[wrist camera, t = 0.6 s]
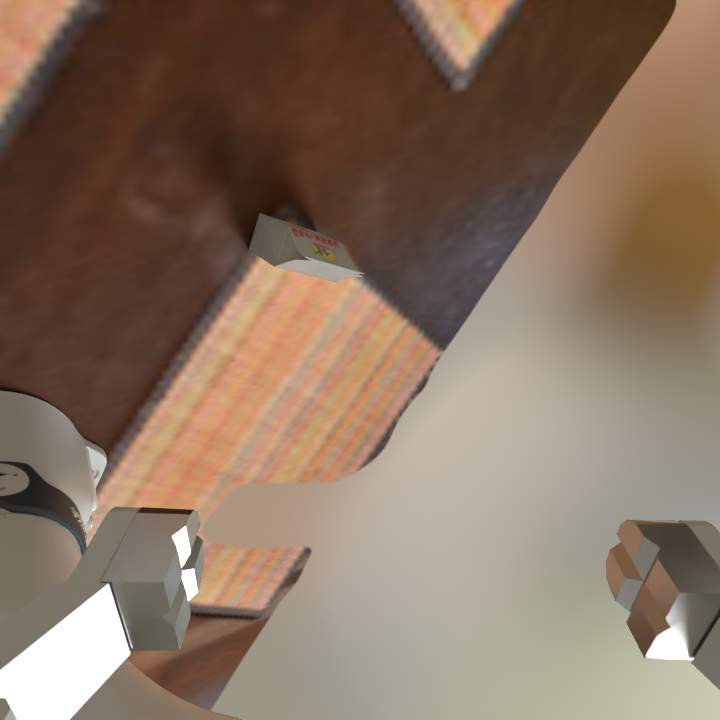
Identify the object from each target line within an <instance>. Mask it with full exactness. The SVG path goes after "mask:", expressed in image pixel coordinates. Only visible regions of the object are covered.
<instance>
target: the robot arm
mask: <svg viewBox="0 0 720 720" xmlns="http://www.w3.org/2000/svg"><path fill="white" fill-rule="evenodd" d="M106 463H107V459H106V453H105V452H104V450H103V449H101V448H100V447H98V446H97V445H95V444H93V443H91V442H89V441H88V440H86V439H84V438H83V437H82V436H81V435H80V434H79V433H78V431H77V430H76V428H75V427H74V425H73V424H72V422H71V421H70V420H69V419H68V418H67V417H66V416H65V415H64V414H63V413H62V412H61V411H59V410H58V409H57V408H55V407H54V406H52V405H50V404H48V403H47V402H45V401H42V400H40V399H37V398H35V397H32V396H28V395H25V394H20V393H15V392H7V391H0V720H241V719H239V718H236V717H232V716H228V715H224V714H220V713H216V712H212V711H210V710H207V709H204V708H201V707H198V706H195V705H193V704H191V703H189V702H187V701H185V700H183V699H181V698H179V697H177V696H175V695H174V694H172V693H170V692H169V691H167V690H165V689H164V688H162V687H160V686H159V685H158V684H156V683H155V682H154V681H152V680H151V679H150V678H148V677H147V676H146V675H145V674H143V673H142V672H141V671H140V670H139V669H137V668H136V667H135V666H134V665H133V664H132V663H131V662H130V661H129V660H128V659H127V657H128V656H129V655H130V653H131V652H130V651H142V650H180V647H181V644H182V641H183V638H184V634H185V631H186V628H187V625H188V622H189V619H190V616H191V613H190V608H189V602H188V601H189V600H190V599H191V598H192V597H193V596H194V595H195V594H196V593H197V592H198V590H199V586H200V583H201V579H202V574H203V568H204V543H203V540H202V539H201V538H200V537H198V536H197V532H198V529H199V527H200V520H199V515H198V511H195V510H185V509H165V508H144V507H142V508H135V507H114V508H113V509H112V510H110V511H109V512H108V513H107V515H106V516H105V518H104V520H103V522H102V523H101V525H100V527H99V528H98V530H97V532H96V534H95V535H94V537H93V539H92V540H91V542H90V544H89V546H88V547H86V544H87V536H86V531H89V530H90V529H91V527H92V523H93V517H92V515H91V513H92V511H94V510H96V508H97V497H96V490H95V488H96V486H97V484H98V482H99V479H100V477H101V475H102V473H103V471H104V469H105V466H106ZM617 535H618V537H619V538H620V540H621V542H620V543H619V544H617V545H616V546H615V547H613V548H612V549H610V551H609V554H608V557H607V560H606V577H607V580H608V584H609V587H610V590H611V592H612V594H613V596H614V598H615V600H616V601H617V602H618V603H619V604H620V605H622V606H623V607H624V608H625V609H626V610H628V611H629V615H628V619H627V625H628V627H629V629H630V631H631V633H632V634H633V636H634V638H635V640H636V642H637V644H638V646H639V648H640V650H641V652H642V654H643V656H644V658H656V659H676V660H678V659H679V660H692V662H691V663H692V664H693V665H694V666H695V667H696V668H697V669H698V670H699V671H700V672H701V673H702V674H704V675H705V676H706V677H707V678H708V679H709V680H710V681H711V682H712V683H713V684H714V685H715V686H716V687H717V688H718V689H719V690H720V533H719V531H718V530H717V529H716V528H715V527H714V526H713V525H712V524H710V523H709V522H707V521H675V520H626V521H624V522H623V523H622V524H621V525H620V527H619V529H618V532H617Z"/></svg>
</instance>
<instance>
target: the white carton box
mask: <svg viewBox="0 0 720 720" xmlns="http://www.w3.org/2000/svg"><path fill="white" fill-rule="evenodd" d="M249 250H250V251H251V252H253V253H254V254H256V255H257V256H259V257H261V258H262V259H264V260H265V261H267V262H268V263H270V264H271V265H273V266H274V267H278V268H282V269H286V270H290V271H294V272H298V273H301V274H305V275H309V276H313V277H317V278H321V279H325V280H328V281H332V282H337V281H341V280H345V279H349V278H354V277H362V276H360V275H358V274H365V273H364V272H363V271H362V270H361V269H360V268H359V266H358V265H357V263H356V261H355V260H354V258H353V256H352V254H351V252H350V250H349V248H348V246H347V245H344V244H342V243H340V242H338V241H336V240H334V239H331V238H329V237H327V236H325V235H323V234H321V233H319V232H316V231H313V230H310V229H307V228H304V227H301V226H298V225H295V224H292V223H289V222H286V221H283V220H280V219H277V218H274V217H271V216H268V215H265V214H262V213H259V217H258V220H257V224H256V227H255V230H254V234H253V237H252V241H251V244H250V247H249Z"/></svg>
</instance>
